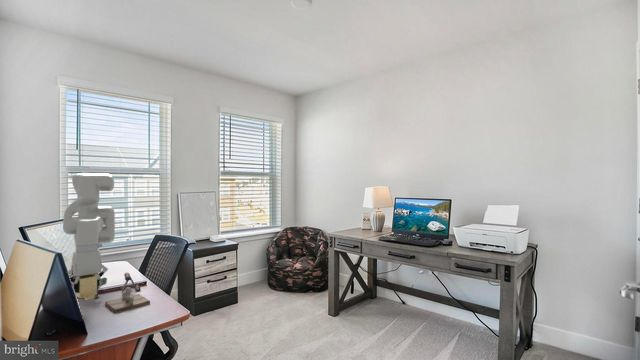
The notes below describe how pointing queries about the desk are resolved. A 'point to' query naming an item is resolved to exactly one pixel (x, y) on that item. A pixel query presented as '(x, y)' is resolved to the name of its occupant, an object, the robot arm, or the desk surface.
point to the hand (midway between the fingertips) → (86, 289)
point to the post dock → (127, 302)
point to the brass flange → (87, 286)
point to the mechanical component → (101, 282)
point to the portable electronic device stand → (127, 278)
